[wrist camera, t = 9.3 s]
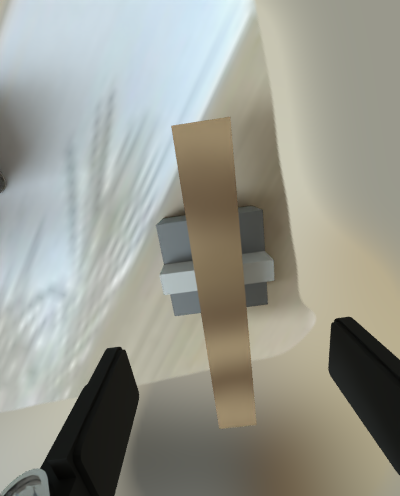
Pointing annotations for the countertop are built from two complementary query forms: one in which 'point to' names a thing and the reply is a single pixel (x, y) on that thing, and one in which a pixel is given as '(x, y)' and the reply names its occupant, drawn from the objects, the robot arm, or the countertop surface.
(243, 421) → the batten
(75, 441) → the robot arm
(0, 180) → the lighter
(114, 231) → the countertop surface
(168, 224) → the ridge stand
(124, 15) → the countertop surface
